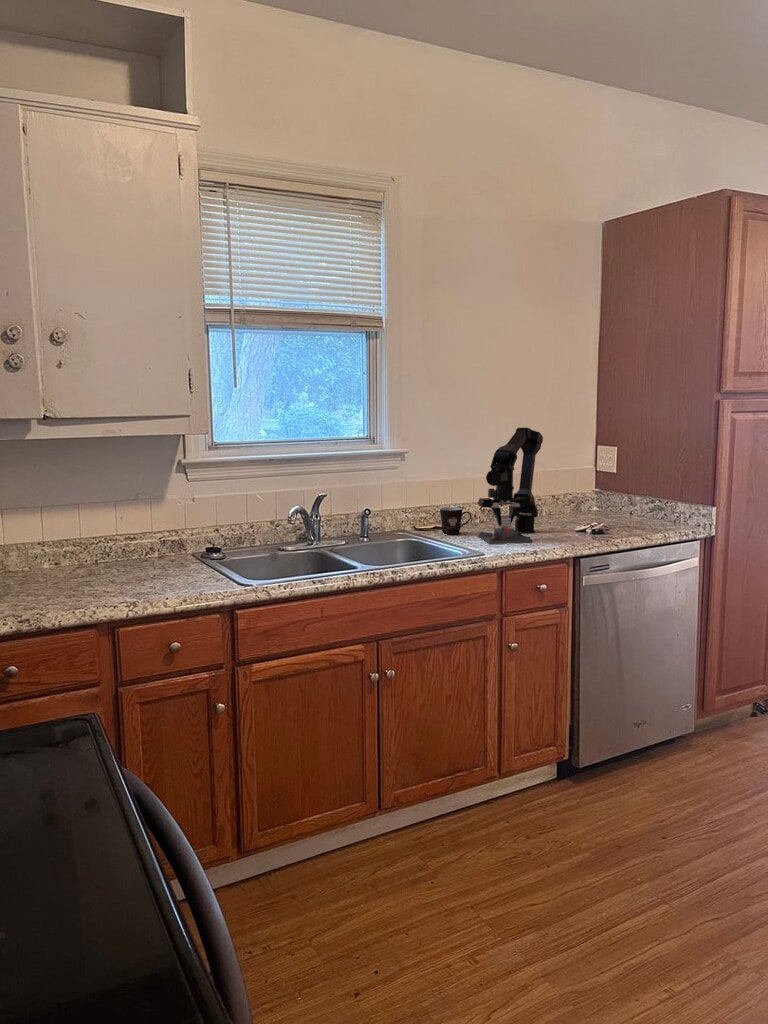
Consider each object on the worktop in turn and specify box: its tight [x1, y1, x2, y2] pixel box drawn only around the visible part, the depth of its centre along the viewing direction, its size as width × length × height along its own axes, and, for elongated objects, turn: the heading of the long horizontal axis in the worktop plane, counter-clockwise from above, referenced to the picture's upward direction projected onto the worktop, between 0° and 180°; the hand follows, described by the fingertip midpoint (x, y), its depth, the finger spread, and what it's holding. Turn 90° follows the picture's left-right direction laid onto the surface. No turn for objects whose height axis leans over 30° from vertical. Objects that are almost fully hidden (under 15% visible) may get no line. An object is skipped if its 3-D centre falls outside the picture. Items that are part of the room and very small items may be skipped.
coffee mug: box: [439, 506, 473, 536], centre depth 300 cm, size 12×9×10 cm
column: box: [498, 514, 512, 530], centre depth 287 cm, size 4×4×7 cm
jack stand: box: [477, 527, 533, 545], centre depth 288 cm, size 16×16×5 cm
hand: (504, 525), depth 287 cm, fingers closed on column, 4 cm apart
